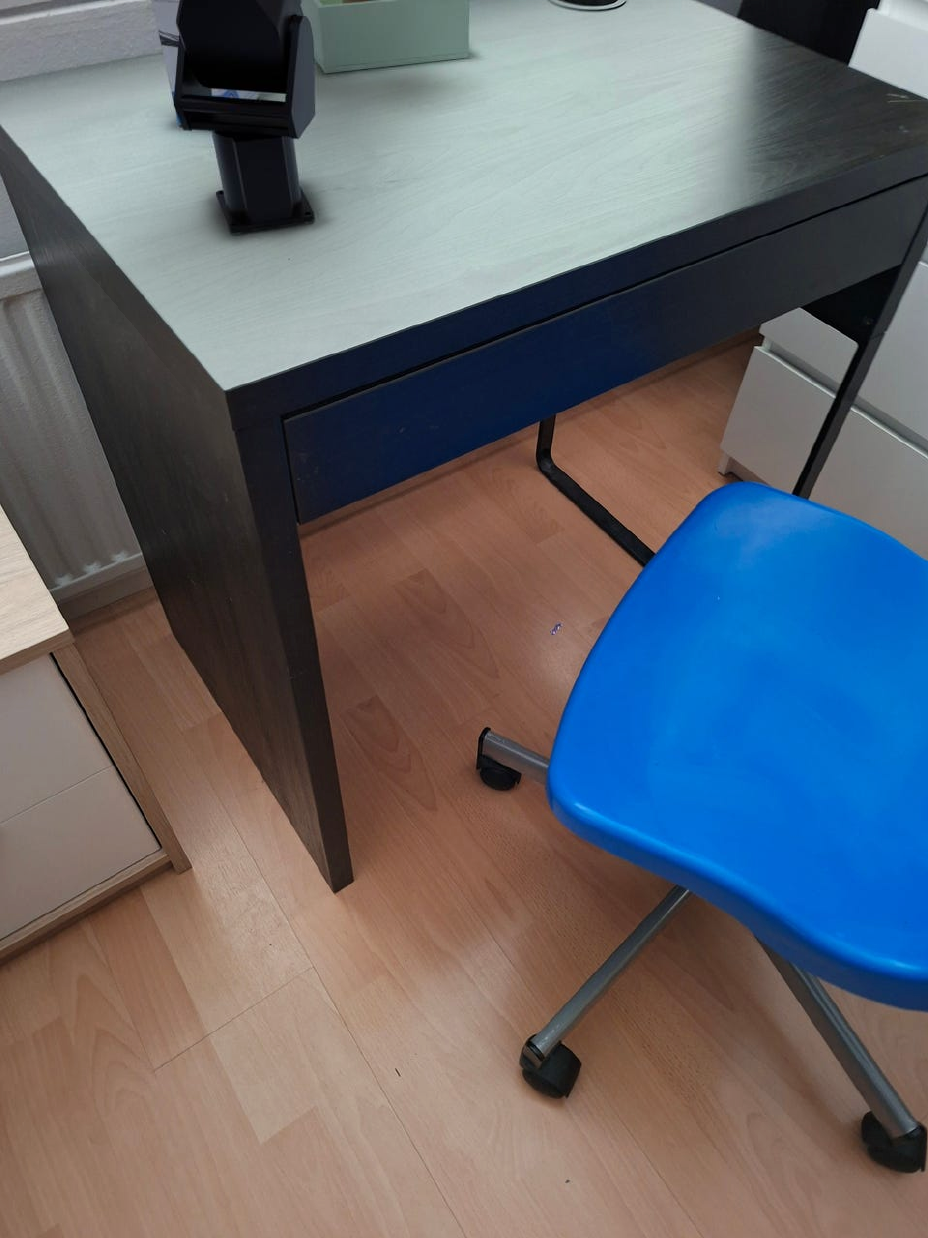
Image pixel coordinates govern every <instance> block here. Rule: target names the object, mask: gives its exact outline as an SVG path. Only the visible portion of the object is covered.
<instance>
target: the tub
mask: <svg viewBox="0 0 928 1238" xmlns="http://www.w3.org/2000/svg"><path fill="white" fill-rule="evenodd" d="M301 8H302V11H303V14H304V16H306V17H307V18H308V19H309V21H310V24H311V28H312V33H313V40H314V60H315V62H317V64H318V66H319V67H320V69H322V71H323V73H324V74H332V73H333V74H334V73H342V72H352V71H360V70H368V69H377V68H378V69H379V68H386V67H387V68H388V67H395V66H396V67H397V66H405V65H413V64H414V65H415V64H422V63H423V64H424V63H432V62H439V61H440V62H441V61H449V60H456V59H457V60H458V59H468V58H469V57H470V56H469V54H470V53H469V51H470V49H469V48H470V43H469V42H470V0H375V1H365V2H354V3H343V4H342V0H302V3H301Z"/></svg>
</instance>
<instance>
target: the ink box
mask: <svg viewBox="0 0 928 1238" xmlns="http://www.w3.org/2000/svg"><path fill="white" fill-rule="evenodd" d="M150 1H151V6H152V9H153V15H154V20H155V23H156V28H157V33H158V38H159V42H160V46H161V52H162V56H163V60H164V65H165V70H166V75H167V78H168V83H169V89H170V93H171V97H172V101H173V100H174V89H175V77H176V65H177V54H178V42H179V31H178V28H177V25H176V17H177V11H178V6H179V1H180V0H150ZM212 96H217V97H230V98H244V99H257V100H258V98H260V92H250V91H236V90H222V89H212ZM174 111H175V116H176V122H177V124H178V125H180V126H182V125H181V123H180V120H179V118H178V116H177V113H176V110H175V109H174Z"/></svg>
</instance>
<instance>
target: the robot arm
mask: <svg viewBox="0 0 928 1238" xmlns="http://www.w3.org/2000/svg"><path fill="white" fill-rule="evenodd" d="M301 3H302V0H180V1H179V6H178V11H177V17H176V25H177V28H178V31H179V42H178V54H177V65H176V77H175V89H174V100H173V99H172V102H173V108H174V111H175V110H176V112H175V114H176V113H177V116H178V118H179V120H180V123H181V125H180V126H181V128H182V130H183V131H185V132H186V131H189V132H192V131H204V132H211V137H212V142H213V147H214V151H215V157H216V161H217V167H218V172H219V176H220V177H219V178H220V181H221V182H220V183H221V186H222V189H219V190H217V191H215V197H216V200H217V203H218V207H219V209H220V211H221V214H222V217H223V219H224V222H225V224H226V227H227V230H228V231H229V233H231V234H239V233H246V232H251V231H258V230H265V229H272V228H278V227H287V226H291V225H299V224H304V223H311V222H314V221H315V220H316V217H315V211H314V210H313V208H312V206H311V204H310V202H309V200H308V198H307V196H306V194H305V192H304V190H303V189H302V187H301V184H300V176H299V169H298V163H297V155H296V147H295V140H299V139H301V136H302V135H303V134H304V132H305V131H306V129H307V128H308V126H309V125H310V124H311V122H312V121H313V119H314V118H315V116H316V75H315V73H316V72H315V58H314V40H313V33H312V28H311V24H310V21H309V19H308V18H307V17H306V16H304V14H303V11H302V8H301ZM212 89H222V90H236V91H250V92H259V93H264V94H265V93H266V94H278V95H279V94H280V95H285V96H284V99H285V100H284V101H283V100H270V99H269V100H268V99H258V98H257V99H244V98H230V97H217V96H212Z"/></svg>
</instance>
